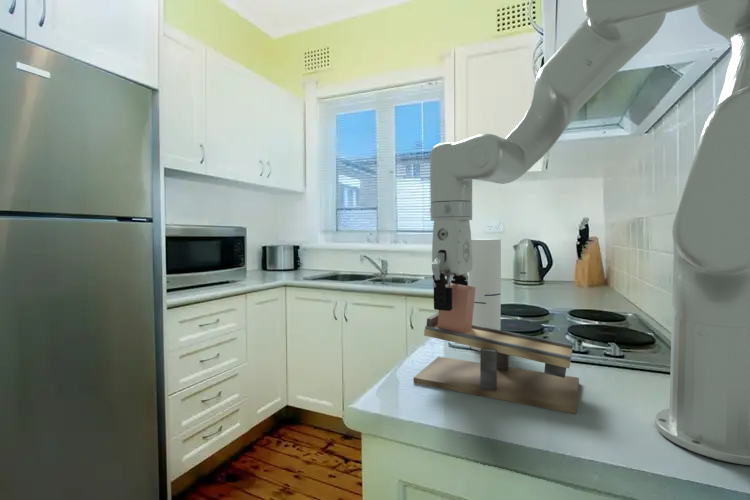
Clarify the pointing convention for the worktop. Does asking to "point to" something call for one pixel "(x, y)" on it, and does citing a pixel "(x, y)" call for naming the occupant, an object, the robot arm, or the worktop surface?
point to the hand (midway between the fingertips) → (451, 305)
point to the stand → (501, 381)
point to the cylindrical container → (486, 283)
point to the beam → (509, 345)
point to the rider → (458, 310)
